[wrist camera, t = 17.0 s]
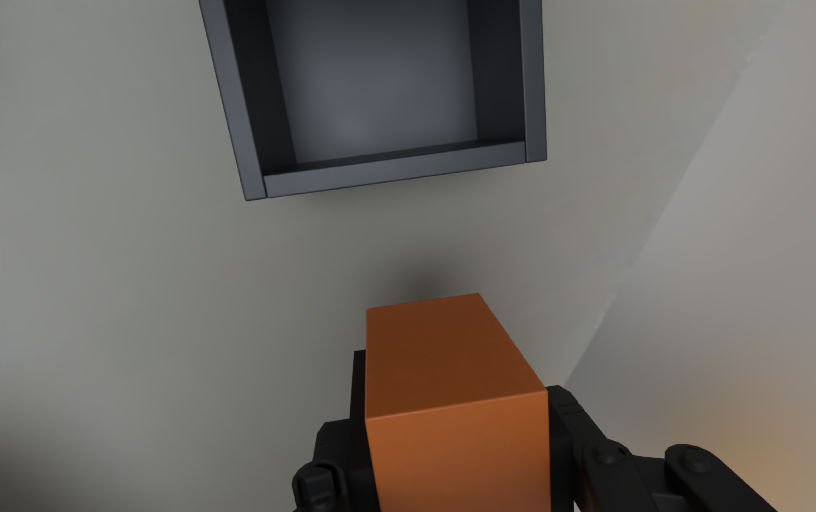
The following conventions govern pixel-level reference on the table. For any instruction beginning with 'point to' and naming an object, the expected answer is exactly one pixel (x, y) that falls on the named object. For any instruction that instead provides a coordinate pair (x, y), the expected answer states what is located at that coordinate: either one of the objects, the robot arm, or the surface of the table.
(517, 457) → the orange block
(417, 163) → the open box
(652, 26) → the table surface
